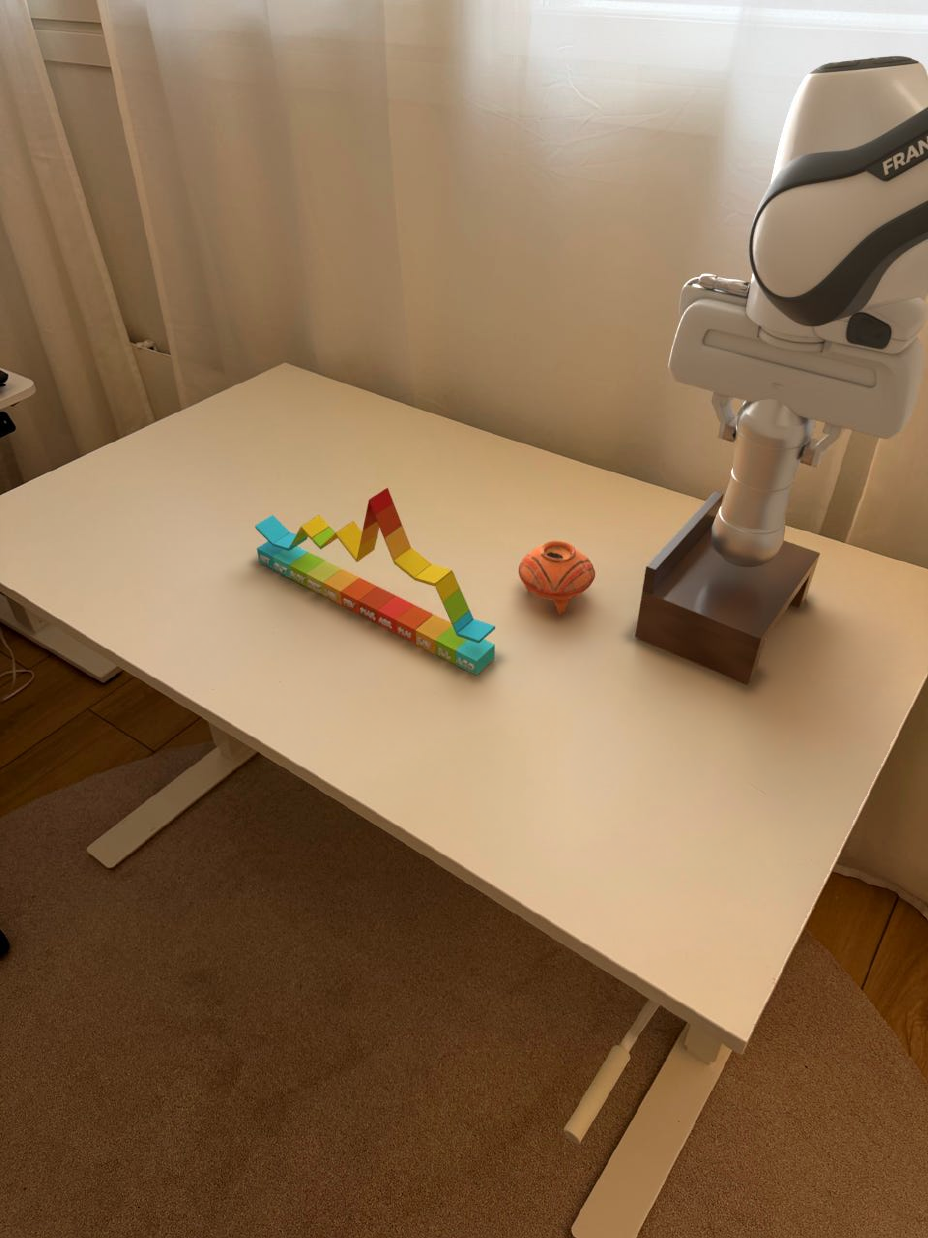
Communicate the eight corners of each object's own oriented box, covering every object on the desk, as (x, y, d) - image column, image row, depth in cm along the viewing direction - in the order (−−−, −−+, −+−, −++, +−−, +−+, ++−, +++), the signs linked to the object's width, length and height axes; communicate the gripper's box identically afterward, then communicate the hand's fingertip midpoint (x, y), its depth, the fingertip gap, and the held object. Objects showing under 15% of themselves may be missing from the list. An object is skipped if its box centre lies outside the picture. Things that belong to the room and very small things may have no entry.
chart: (257, 563, 100) (234, 444, 90) (278, 549, 102) (258, 431, 92) (475, 677, 86) (475, 551, 76) (494, 659, 88) (497, 534, 78)
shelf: (806, 598, 95) (828, 528, 89) (747, 685, 85) (768, 613, 79) (700, 559, 100) (715, 490, 94) (634, 637, 90) (645, 566, 84)
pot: (507, 613, 93) (511, 553, 89) (526, 584, 99) (530, 527, 96) (584, 626, 91) (590, 565, 87) (597, 595, 97) (603, 537, 94)
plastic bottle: (722, 528, 90) (763, 338, 77) (788, 551, 87) (842, 356, 74) (696, 560, 86) (735, 365, 73) (764, 584, 83) (817, 385, 70)
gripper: (668, 280, 73) (647, 431, 82) (930, 338, 64) (873, 502, 73) (700, 258, 77) (677, 405, 86) (951, 310, 68) (895, 468, 77)
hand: (769, 450), depth 79 cm, fingers closed on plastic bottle, 6 cm apart
